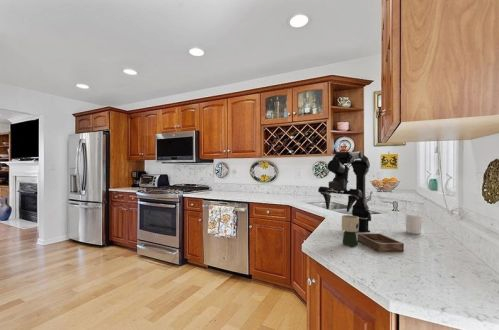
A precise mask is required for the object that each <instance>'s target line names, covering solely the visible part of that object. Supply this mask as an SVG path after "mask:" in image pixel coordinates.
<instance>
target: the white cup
mask: <svg viewBox="0 0 499 330" xmlns="http://www.w3.org/2000/svg"><path fill="white" fill-rule="evenodd" d="M404 215H405V232H406V233H408V234H411V235H420V234H421V232H422V227H423V226H422V225H423V214H419V213H412V212H406V213H405V214H404Z"/></svg>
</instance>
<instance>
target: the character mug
mask: <svg viewBox="0 0 499 330" xmlns="http://www.w3.org/2000/svg"><path fill="white" fill-rule="evenodd" d="M358 230H359V217H357V216H352V214H349V215H348V214H343V215H342V216H341V231H344V232H343V237H342V244H343V245H347V246H348V247H357V246H358V241H357V232H358Z"/></svg>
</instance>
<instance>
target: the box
mask: <svg viewBox="0 0 499 330" xmlns="http://www.w3.org/2000/svg"><path fill="white" fill-rule="evenodd" d="M356 237H357V243H361V244H362V245H364V246H366V247H368V248H370V249H372V250H373V251H376V252H378V253H397V252H398V253H400V252H401V253H402V252H404V251H405V247H404V246H405V244H404V242H402V241H399V240H397V239H395V238H393V237H389V236H387V235H384V234H383V233H375V232H373V233H370V232H369V233H356Z"/></svg>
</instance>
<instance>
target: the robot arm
mask: <svg viewBox="0 0 499 330" xmlns="http://www.w3.org/2000/svg"><path fill="white" fill-rule="evenodd" d="M349 164H351V168H352V172H353V173H354V175H355V182H356V183H355V188H349V190H348V189H347V187H348V183H349V179H348V178H349V171H350V167H349ZM370 165H371V164H370V160H369V158H368V157H367V156H366V155H364V153H363V151H361V150H360V151H358V150H354V151H336V152H335V154H334V155H333V157H332V159H331V160H330V161H329V162H328V163H327V165H326V166H327V167H326V168H327V169H328V171H329V172H331V173H333V174H334V177H333V179H332V180H331V181H328V186H319V187H318V190H317V192H318V193H320V195H322V196H323V199H324V201H325V207H326V210H329V208H330V204H331V198H332V197H331V196H332V195H331V194H337V195H347V199H348V200H347V206H346V213H349V211H350V210H351V215H352V216H357V217H359V230H358V231H357V232H358V233H370V232H371V230H369V222H371V221H372V214H371V212H370V211H371V210H370V209H369V205H368V203H367V202H366V177H367V176H366V175H367V174H368V172H369V169H370V167H371V166H370ZM351 208H352V209H351Z"/></svg>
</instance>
